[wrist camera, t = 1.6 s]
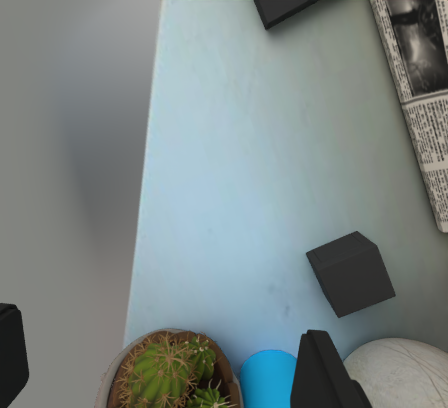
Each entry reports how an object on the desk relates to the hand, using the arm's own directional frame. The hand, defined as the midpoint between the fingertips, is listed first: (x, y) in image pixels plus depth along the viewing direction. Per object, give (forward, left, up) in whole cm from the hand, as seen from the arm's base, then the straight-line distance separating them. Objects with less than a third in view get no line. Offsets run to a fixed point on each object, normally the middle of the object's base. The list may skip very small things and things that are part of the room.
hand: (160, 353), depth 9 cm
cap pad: (-10, +13, -20) cm, 26 cm away
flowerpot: (+18, +21, -15) cm, 31 cm away
